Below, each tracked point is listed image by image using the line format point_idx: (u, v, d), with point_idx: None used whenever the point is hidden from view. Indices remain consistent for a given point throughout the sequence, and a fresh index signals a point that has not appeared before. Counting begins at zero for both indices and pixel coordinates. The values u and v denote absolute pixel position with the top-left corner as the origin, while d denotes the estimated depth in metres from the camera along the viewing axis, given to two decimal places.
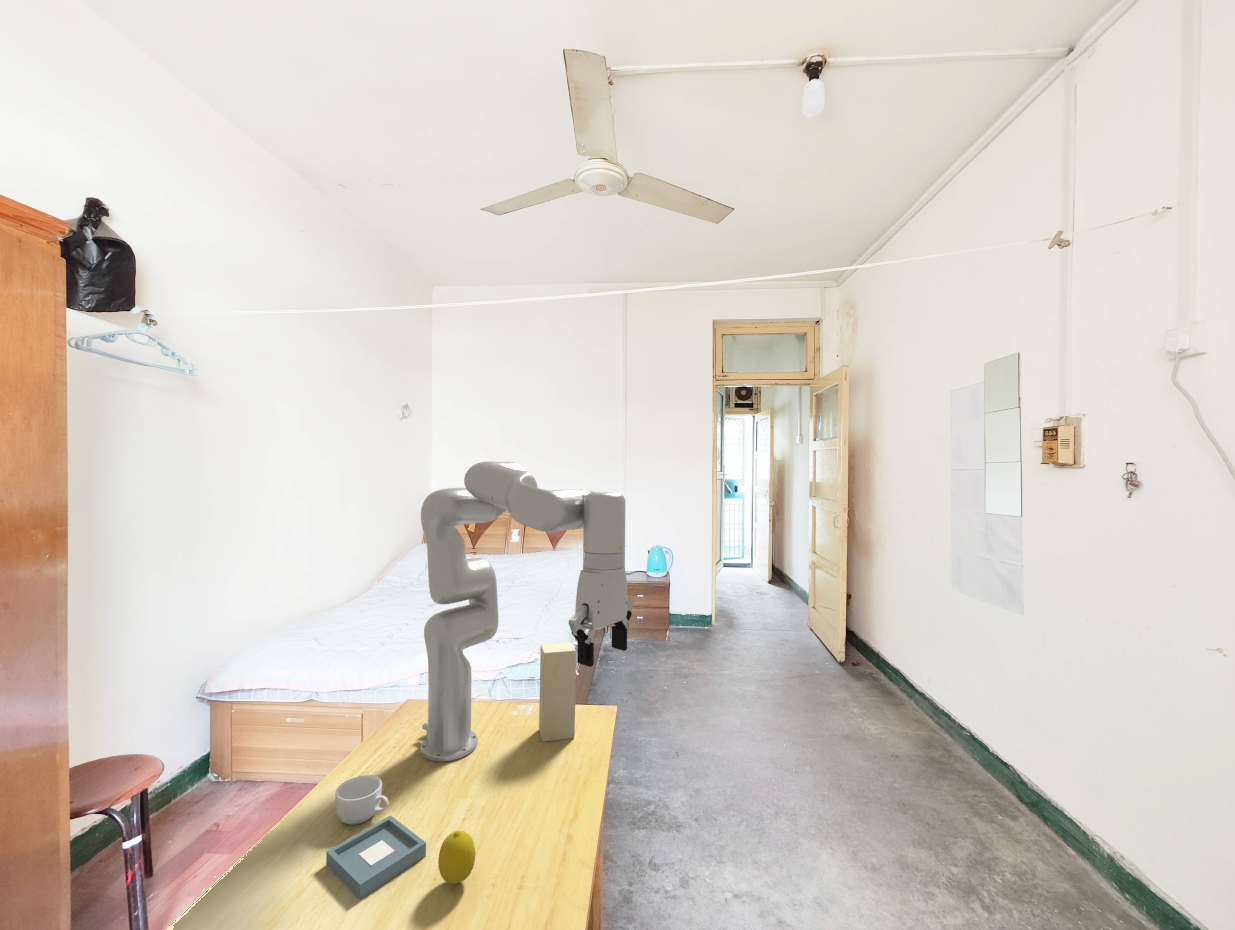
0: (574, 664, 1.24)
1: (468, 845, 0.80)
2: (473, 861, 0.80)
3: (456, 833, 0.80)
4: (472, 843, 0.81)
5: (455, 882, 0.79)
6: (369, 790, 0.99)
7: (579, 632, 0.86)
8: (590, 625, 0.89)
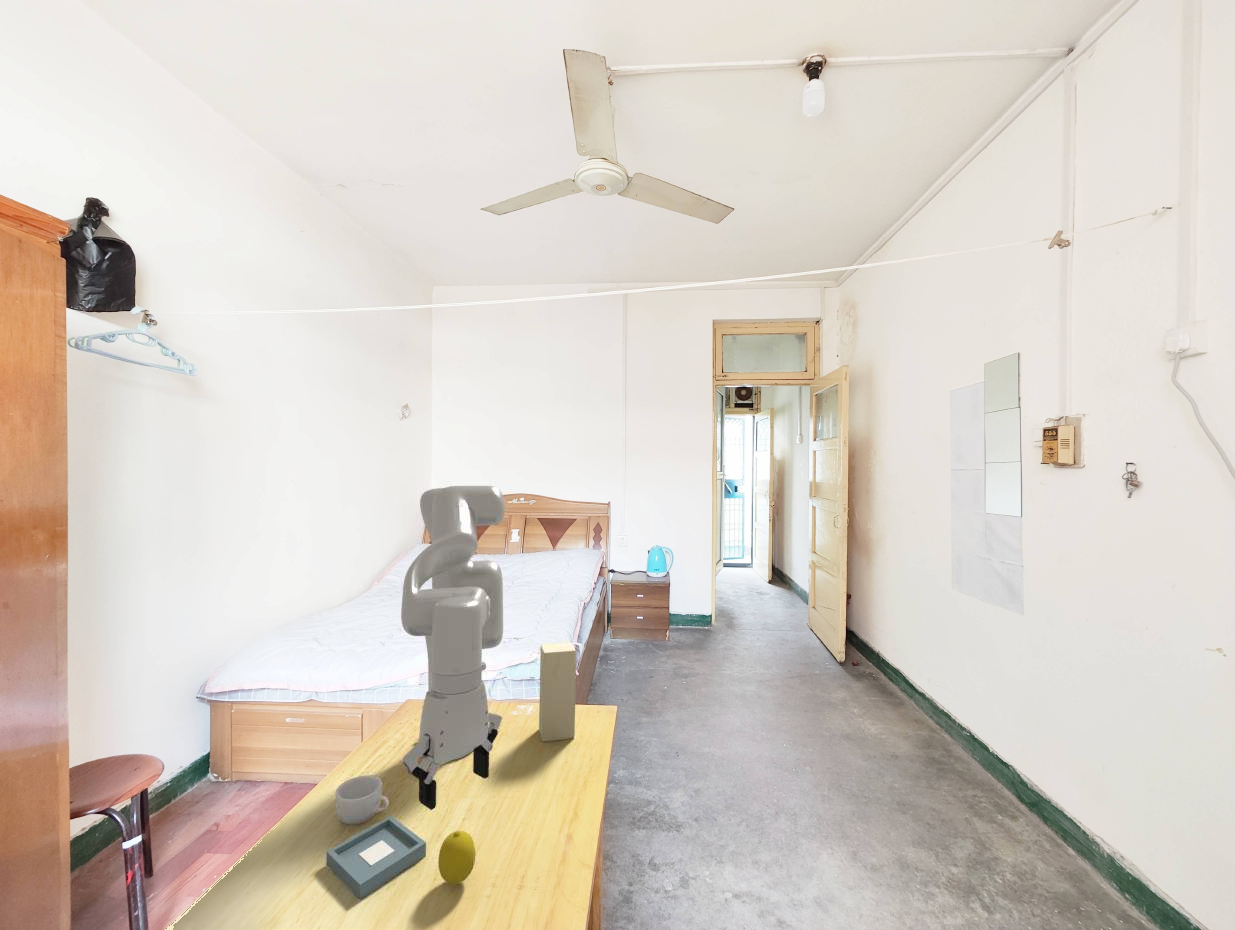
0: (574, 664, 1.24)
1: (468, 845, 0.80)
2: (473, 861, 0.80)
3: (456, 833, 0.80)
4: (472, 843, 0.81)
5: (455, 882, 0.79)
6: (369, 790, 0.99)
7: (415, 772, 0.74)
8: (433, 759, 0.76)
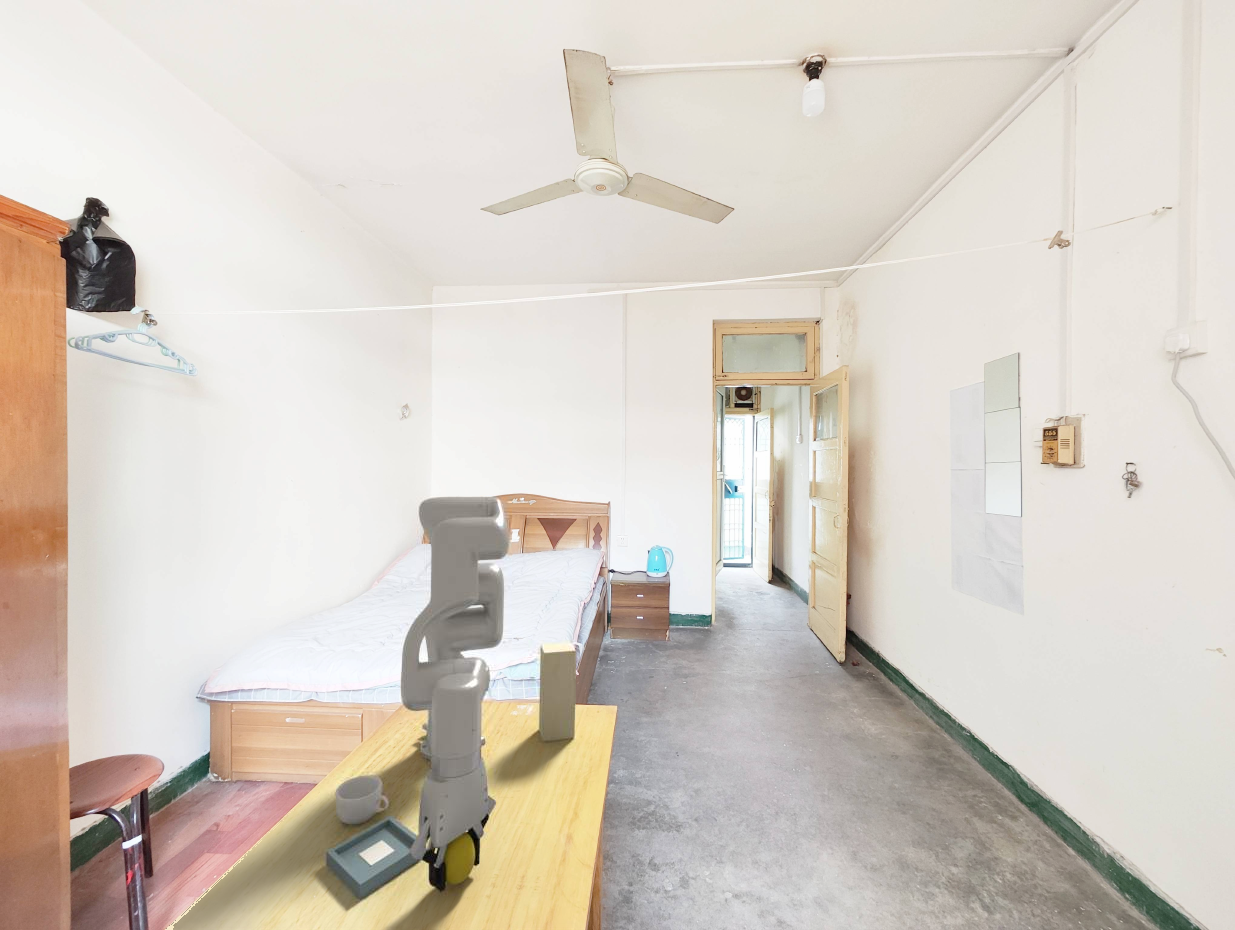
0: (574, 664, 1.24)
1: (468, 845, 0.80)
2: (472, 861, 0.80)
3: None
4: (472, 843, 0.81)
5: (455, 882, 0.79)
6: (369, 790, 0.99)
7: (425, 857, 0.76)
8: None
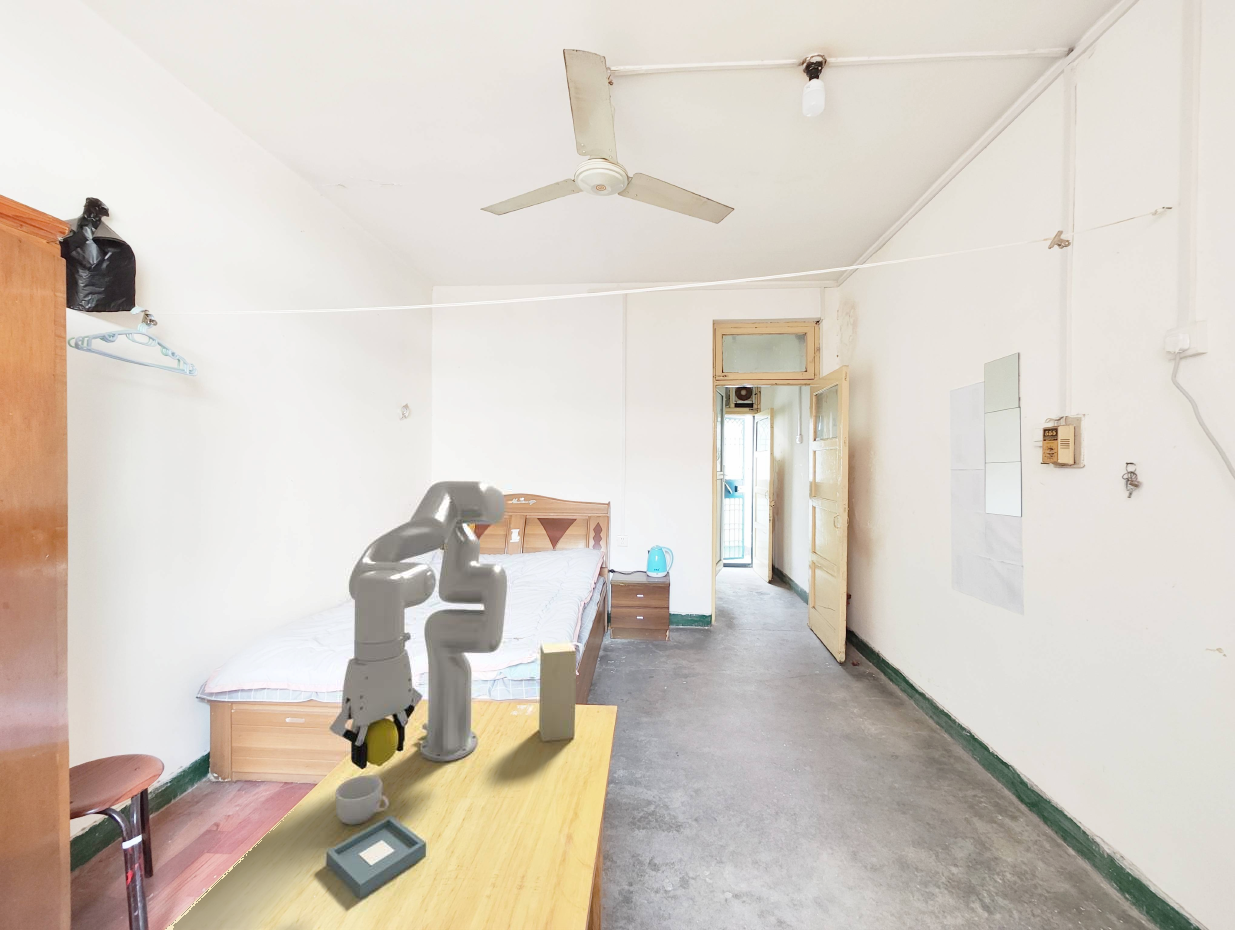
0: (574, 664, 1.24)
1: (390, 729, 0.84)
2: (394, 744, 0.84)
3: None
4: (394, 728, 0.85)
5: (376, 762, 0.83)
6: (369, 790, 0.99)
7: (346, 734, 0.80)
8: None
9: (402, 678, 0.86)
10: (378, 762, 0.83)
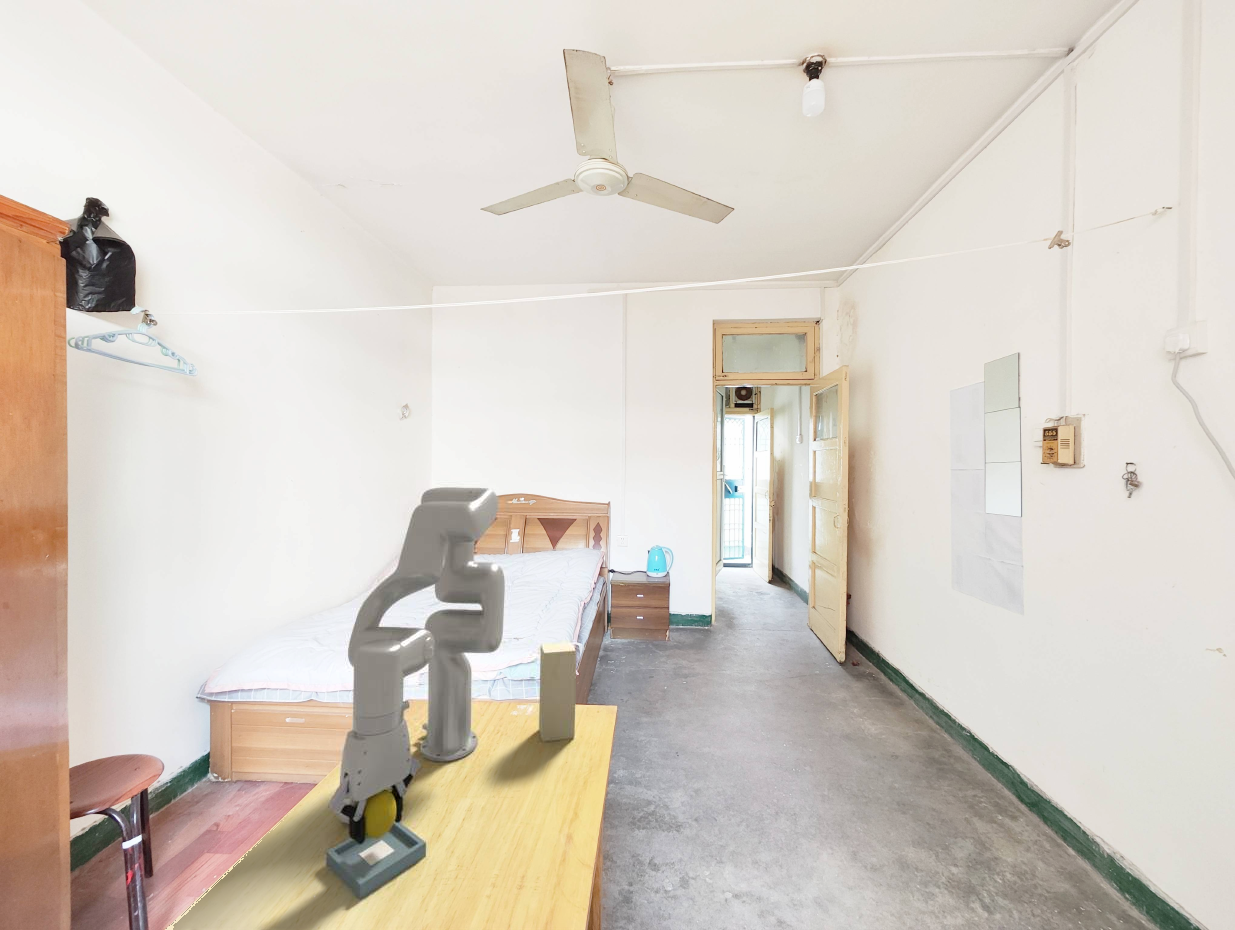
0: (574, 664, 1.24)
1: (388, 801, 0.84)
2: (392, 817, 0.84)
3: None
4: (393, 800, 0.85)
5: (374, 836, 0.83)
6: None
7: (344, 810, 0.80)
8: None
9: (401, 749, 0.86)
10: (376, 836, 0.83)
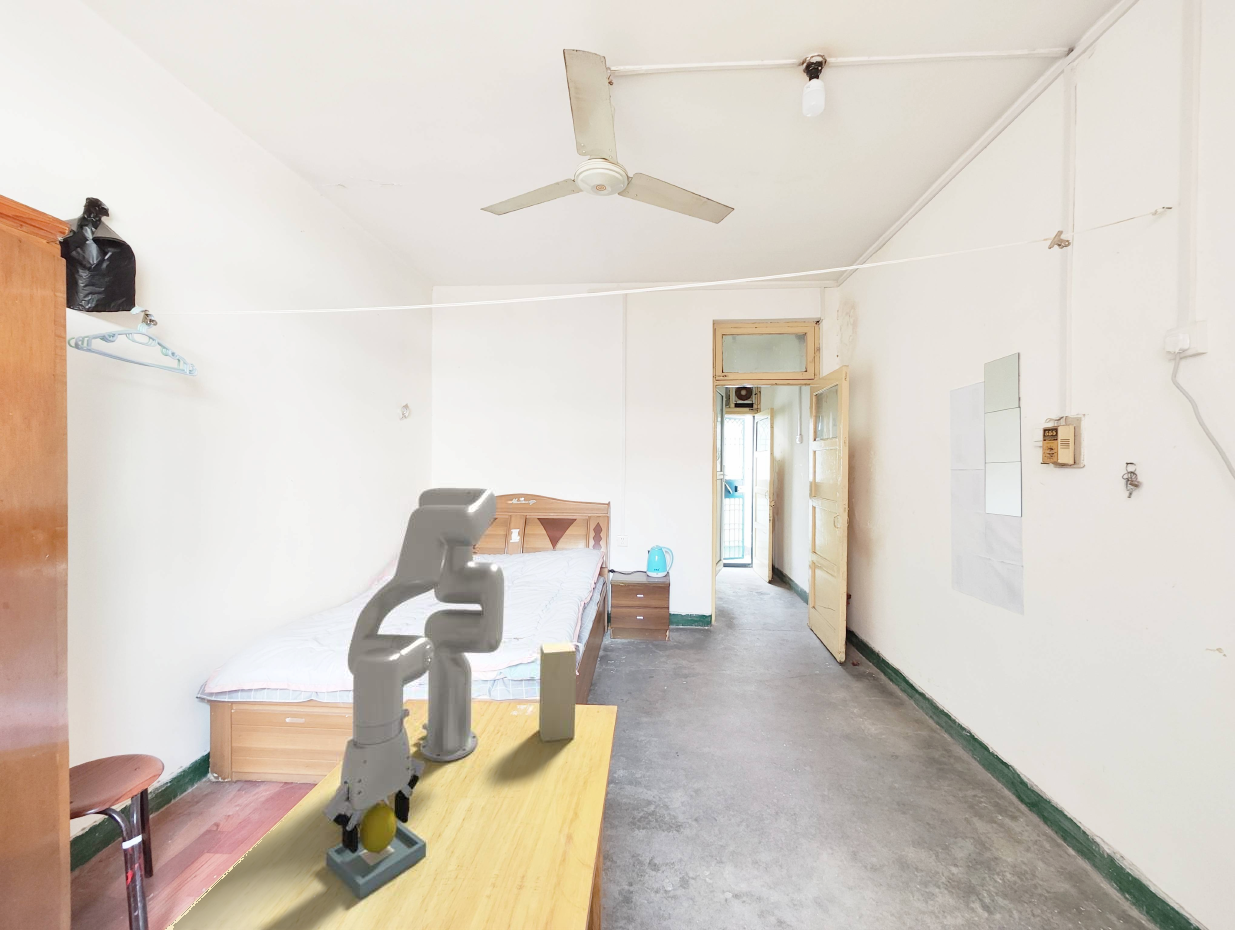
0: (574, 664, 1.24)
1: (388, 816, 0.84)
2: (392, 831, 0.84)
3: (376, 805, 0.85)
4: (392, 814, 0.85)
5: (375, 851, 0.83)
6: None
7: (336, 819, 0.79)
8: None
9: (400, 757, 0.86)
10: (376, 850, 0.83)
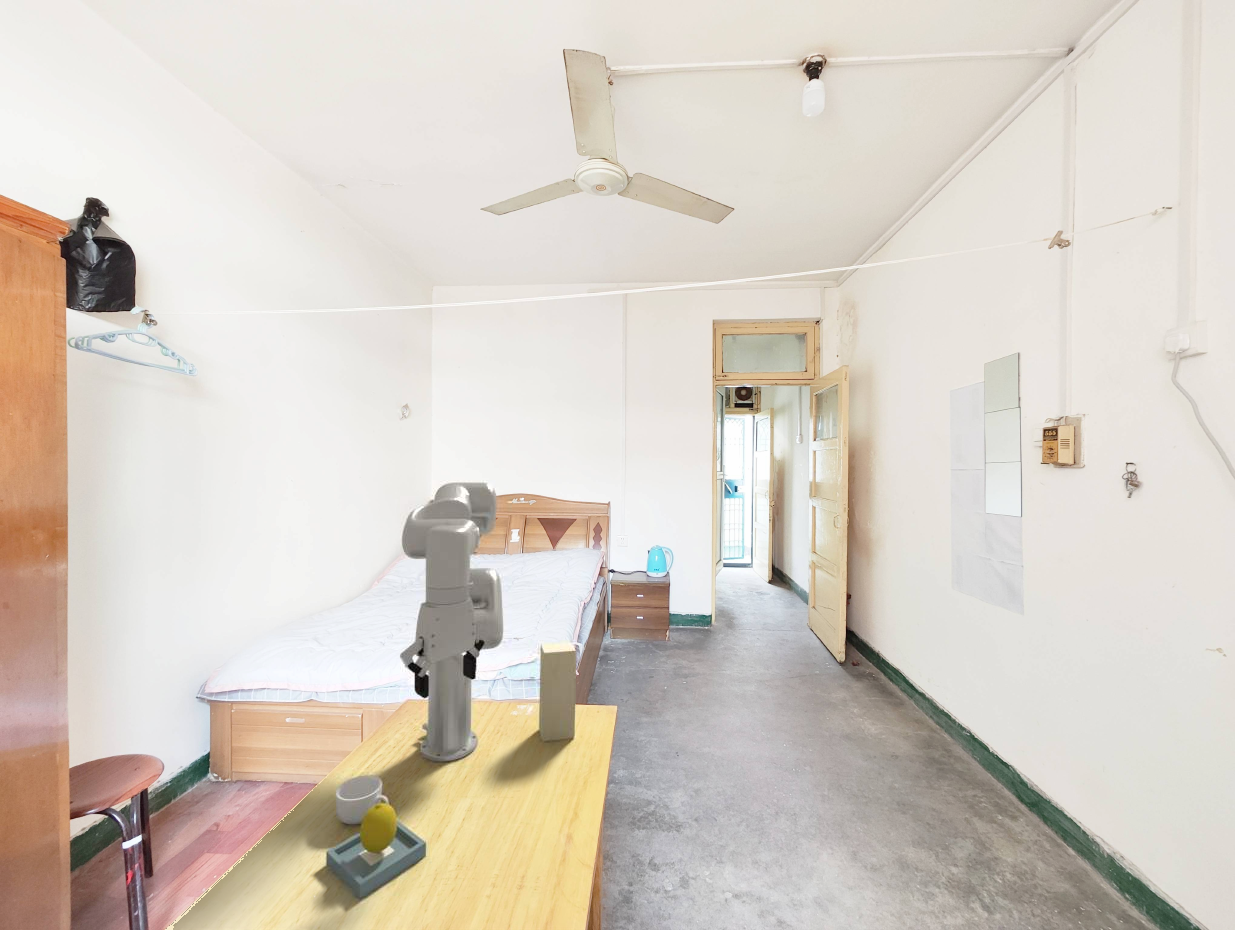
0: (574, 664, 1.24)
1: (389, 816, 0.84)
2: (393, 831, 0.84)
3: (377, 805, 0.85)
4: (393, 815, 0.85)
5: (375, 851, 0.83)
6: (369, 790, 0.99)
7: (410, 666, 0.88)
8: (426, 658, 0.91)
9: (467, 622, 0.95)
10: (377, 851, 0.83)
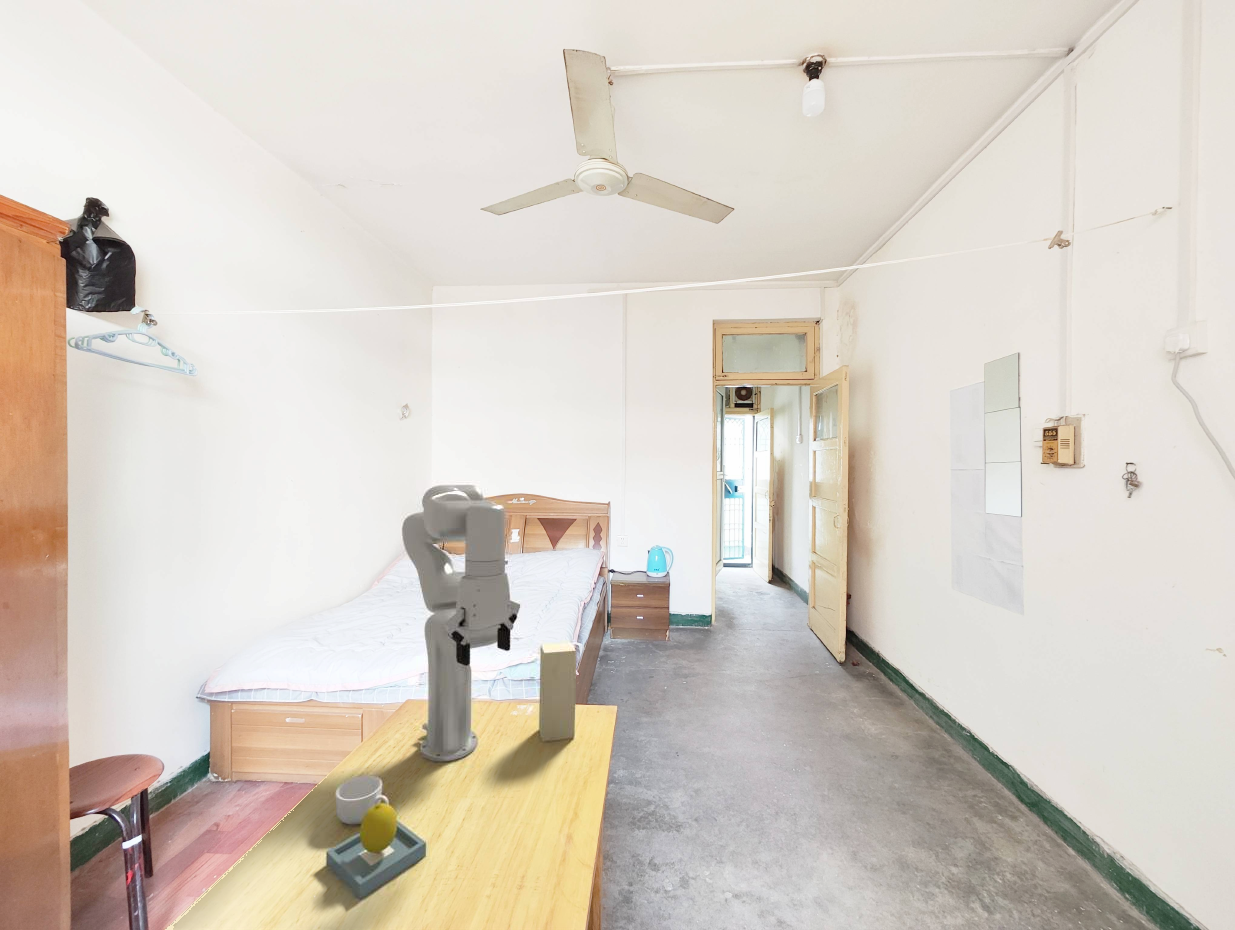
0: (574, 664, 1.24)
1: (389, 816, 0.84)
2: (393, 831, 0.84)
3: (377, 805, 0.85)
4: (393, 815, 0.85)
5: (375, 851, 0.83)
6: (369, 790, 0.99)
7: (454, 634, 0.94)
8: (467, 627, 0.96)
9: (503, 595, 1.01)
10: (377, 851, 0.83)
